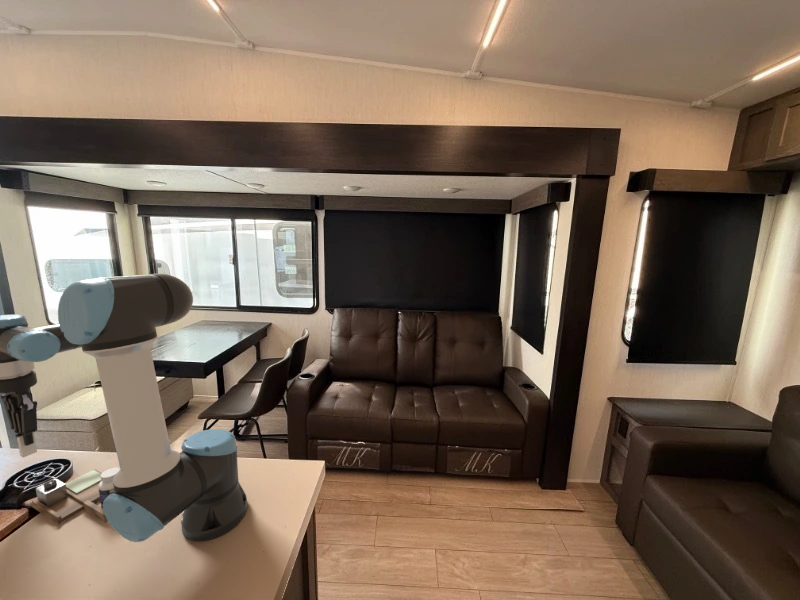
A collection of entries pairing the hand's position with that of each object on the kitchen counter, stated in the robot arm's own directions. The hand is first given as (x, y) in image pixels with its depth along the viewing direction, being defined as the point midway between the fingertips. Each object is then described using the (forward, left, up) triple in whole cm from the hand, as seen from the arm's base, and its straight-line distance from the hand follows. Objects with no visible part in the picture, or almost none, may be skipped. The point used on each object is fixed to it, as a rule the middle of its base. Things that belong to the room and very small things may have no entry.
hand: (28, 453), depth 90 cm
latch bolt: (-9, 0, -11) cm, 14 cm away
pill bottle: (-24, -7, -12) cm, 28 cm away
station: (-17, -4, -12) cm, 21 cm away
